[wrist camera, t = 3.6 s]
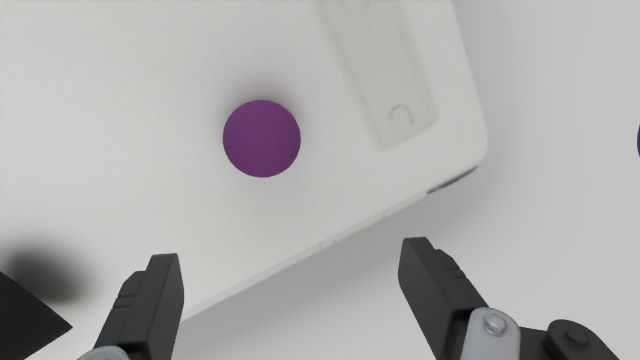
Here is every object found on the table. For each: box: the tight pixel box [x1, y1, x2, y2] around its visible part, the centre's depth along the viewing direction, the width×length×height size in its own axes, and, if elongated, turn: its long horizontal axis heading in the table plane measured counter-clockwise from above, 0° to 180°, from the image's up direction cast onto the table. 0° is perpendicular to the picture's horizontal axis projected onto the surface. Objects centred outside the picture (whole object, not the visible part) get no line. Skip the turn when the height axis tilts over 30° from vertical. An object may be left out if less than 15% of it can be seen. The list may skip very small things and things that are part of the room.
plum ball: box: [223, 100, 301, 177], centre depth 23 cm, size 5×5×5 cm
